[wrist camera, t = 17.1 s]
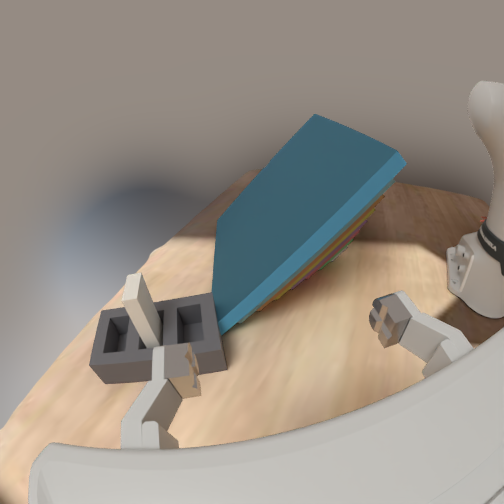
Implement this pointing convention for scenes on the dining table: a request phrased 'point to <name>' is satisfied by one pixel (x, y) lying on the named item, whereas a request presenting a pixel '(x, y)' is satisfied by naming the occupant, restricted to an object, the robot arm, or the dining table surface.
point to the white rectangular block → (142, 311)
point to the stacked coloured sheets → (297, 215)
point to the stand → (174, 332)
